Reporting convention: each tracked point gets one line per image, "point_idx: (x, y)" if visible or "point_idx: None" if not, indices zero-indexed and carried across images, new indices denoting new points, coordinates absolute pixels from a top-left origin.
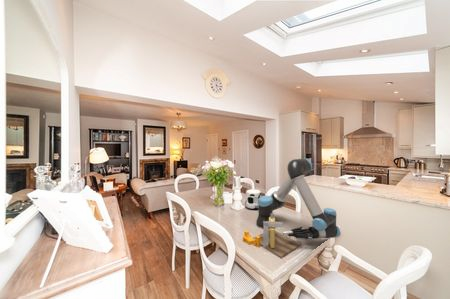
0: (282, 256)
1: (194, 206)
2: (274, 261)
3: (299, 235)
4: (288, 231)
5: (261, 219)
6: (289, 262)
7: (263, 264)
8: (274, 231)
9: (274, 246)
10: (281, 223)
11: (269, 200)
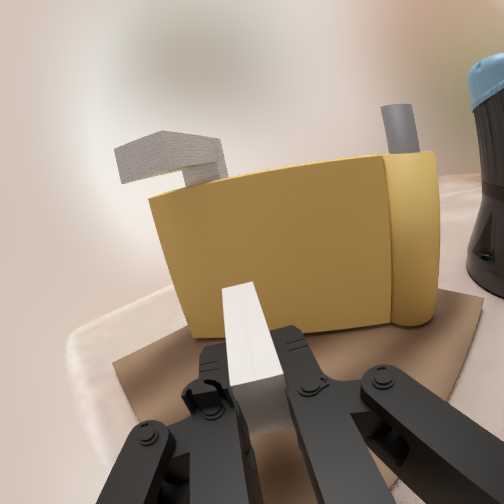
0: (116, 371)
1: (441, 176)
2: (114, 345)
3: (115, 486)
4: (264, 326)
5: (479, 212)
6: (76, 398)
7: (118, 316)
8: (152, 211)
9: (189, 327)
10: (133, 143)
11: (498, 55)
